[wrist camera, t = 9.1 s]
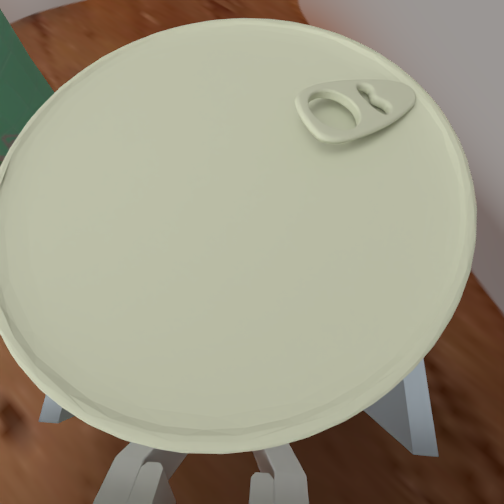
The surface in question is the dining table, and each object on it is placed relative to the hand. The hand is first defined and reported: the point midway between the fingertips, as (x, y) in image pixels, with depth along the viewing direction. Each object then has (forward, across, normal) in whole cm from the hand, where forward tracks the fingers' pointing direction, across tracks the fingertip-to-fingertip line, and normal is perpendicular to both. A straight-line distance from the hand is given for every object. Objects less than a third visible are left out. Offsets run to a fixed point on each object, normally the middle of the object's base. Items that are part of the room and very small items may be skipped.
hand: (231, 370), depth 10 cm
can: (+6, 0, 0) cm, 6 cm away
